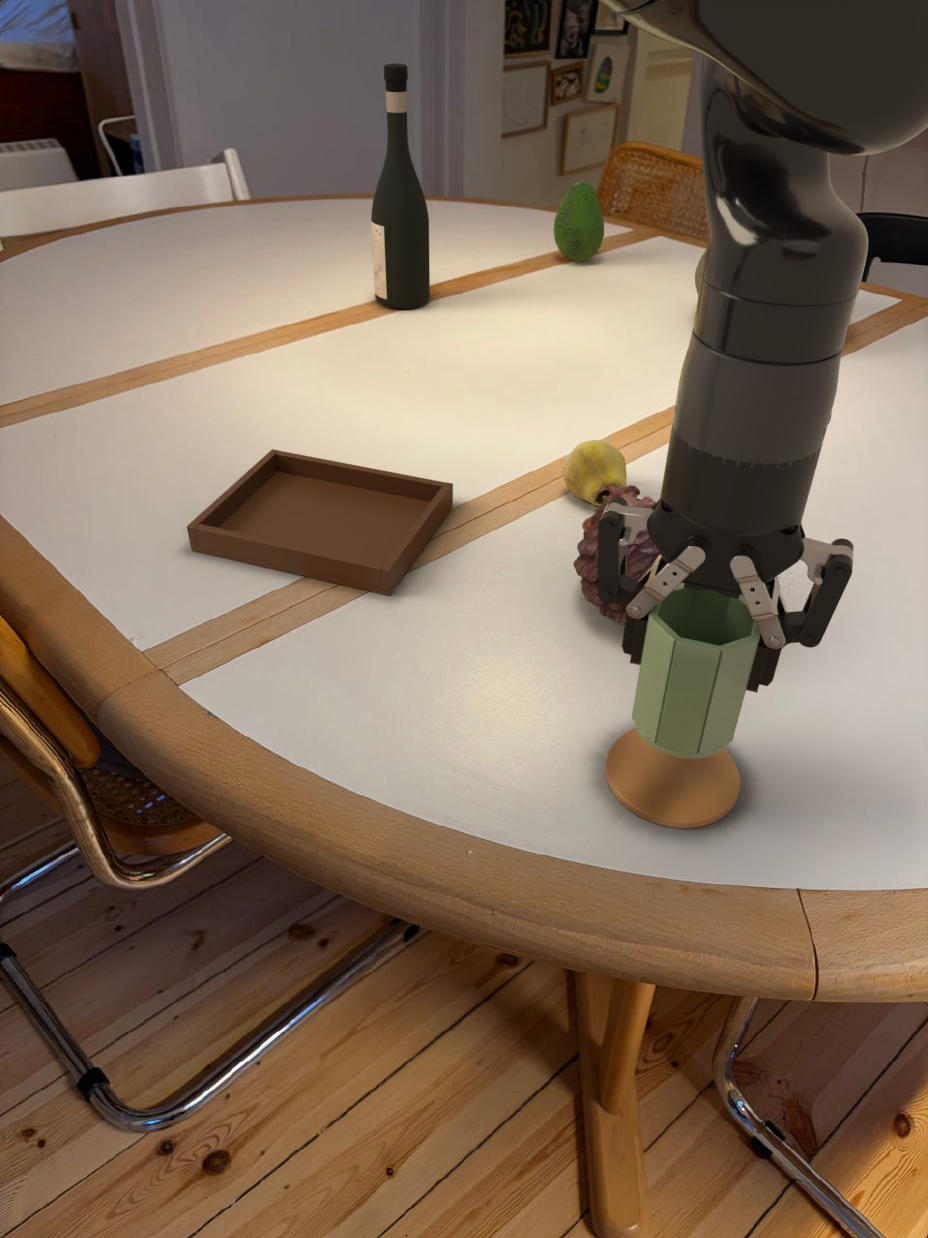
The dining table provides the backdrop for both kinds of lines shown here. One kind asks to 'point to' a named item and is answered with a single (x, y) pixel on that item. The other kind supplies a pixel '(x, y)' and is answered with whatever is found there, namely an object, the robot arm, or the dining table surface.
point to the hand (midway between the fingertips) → (695, 669)
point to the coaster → (671, 783)
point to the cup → (694, 672)
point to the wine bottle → (399, 210)
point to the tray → (324, 520)
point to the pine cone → (638, 552)
